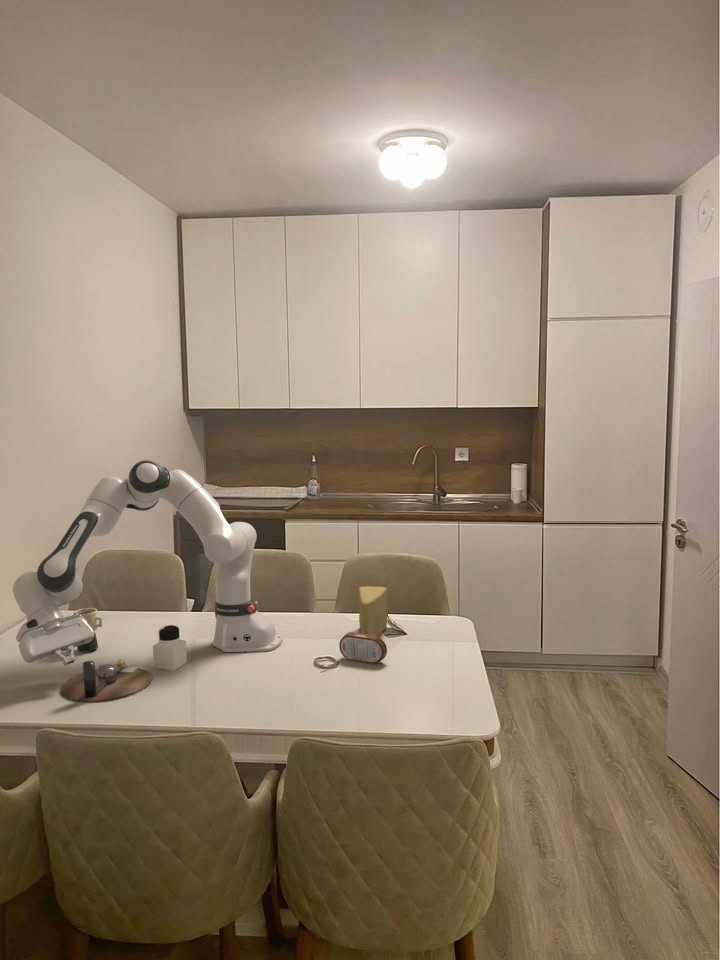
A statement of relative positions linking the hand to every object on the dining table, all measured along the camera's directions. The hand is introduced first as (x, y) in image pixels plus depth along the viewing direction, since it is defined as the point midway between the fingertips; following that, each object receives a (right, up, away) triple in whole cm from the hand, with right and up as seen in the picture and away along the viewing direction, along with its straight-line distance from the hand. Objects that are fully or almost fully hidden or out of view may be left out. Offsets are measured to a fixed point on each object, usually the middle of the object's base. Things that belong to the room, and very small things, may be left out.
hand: (70, 663), depth 207 cm
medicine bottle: (+23, -5, +18) cm, 30 cm away
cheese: (+84, -2, +41) cm, 93 cm away
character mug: (-7, -4, +32) cm, 34 cm away
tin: (+81, -4, +19) cm, 83 cm away
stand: (+9, -7, +4) cm, 12 cm away
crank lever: (+9, -6, +3) cm, 11 cm away
